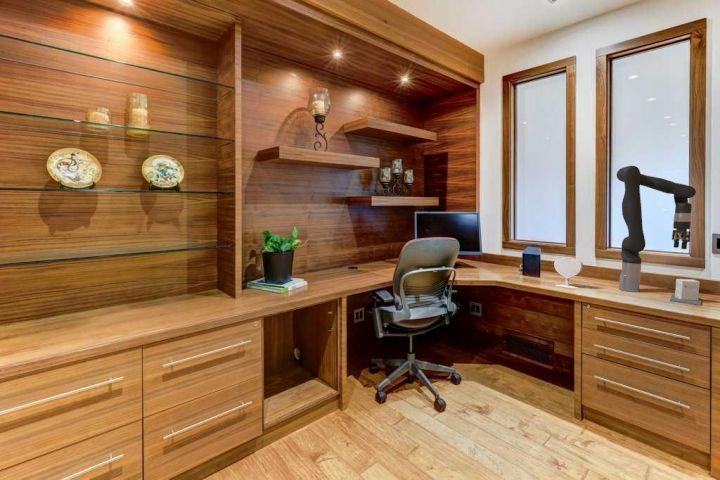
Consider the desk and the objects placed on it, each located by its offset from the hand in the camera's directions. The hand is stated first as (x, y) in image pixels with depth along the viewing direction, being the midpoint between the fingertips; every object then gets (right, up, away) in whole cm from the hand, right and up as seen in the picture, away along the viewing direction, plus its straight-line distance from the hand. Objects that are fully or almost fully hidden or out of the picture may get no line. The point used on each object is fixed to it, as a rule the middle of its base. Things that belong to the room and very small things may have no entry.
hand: (679, 248), depth 208 cm
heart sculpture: (-56, -25, +18) cm, 64 cm away
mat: (-9, -28, -14) cm, 33 cm away
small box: (-9, -28, -14) cm, 33 cm away
